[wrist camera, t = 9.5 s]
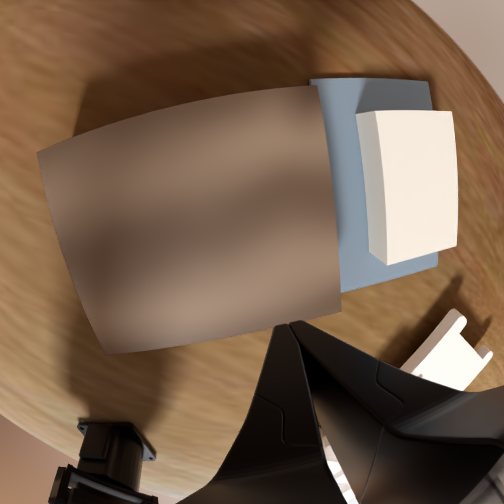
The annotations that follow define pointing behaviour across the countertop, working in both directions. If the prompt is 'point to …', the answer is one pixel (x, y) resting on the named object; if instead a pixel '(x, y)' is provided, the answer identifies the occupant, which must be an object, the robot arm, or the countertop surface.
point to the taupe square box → (199, 219)
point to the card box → (409, 182)
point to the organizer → (431, 372)
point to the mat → (351, 170)
